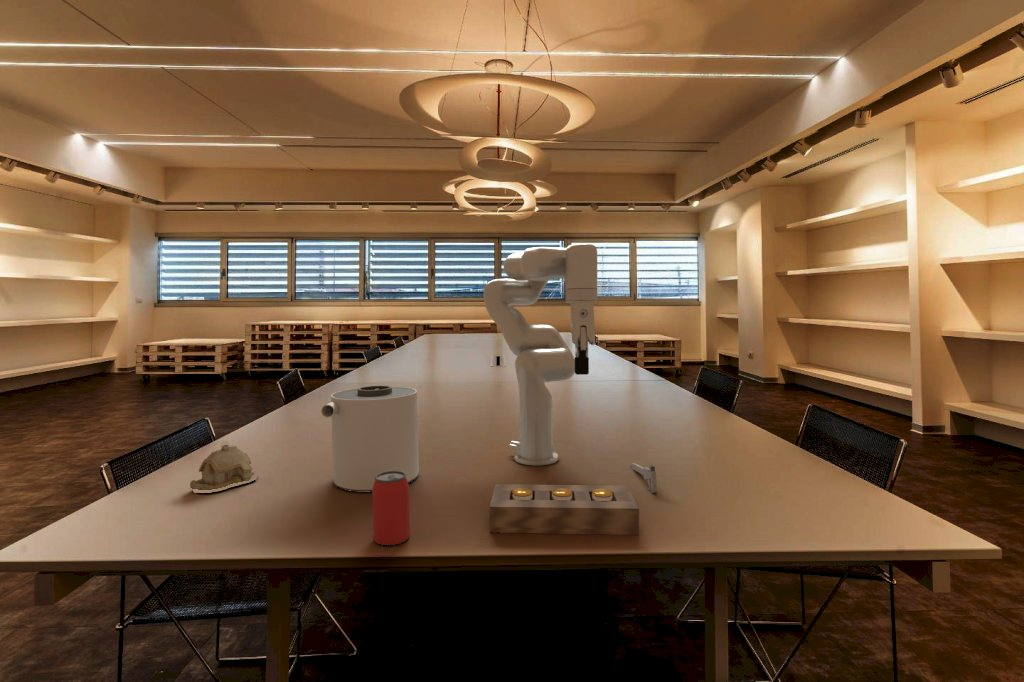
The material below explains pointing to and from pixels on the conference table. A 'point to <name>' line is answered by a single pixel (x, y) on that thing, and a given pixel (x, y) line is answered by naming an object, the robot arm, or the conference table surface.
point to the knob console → (564, 511)
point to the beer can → (391, 508)
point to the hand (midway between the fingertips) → (581, 373)
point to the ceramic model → (223, 469)
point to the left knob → (522, 494)
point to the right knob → (601, 495)
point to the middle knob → (562, 494)
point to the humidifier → (373, 434)
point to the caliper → (647, 475)
